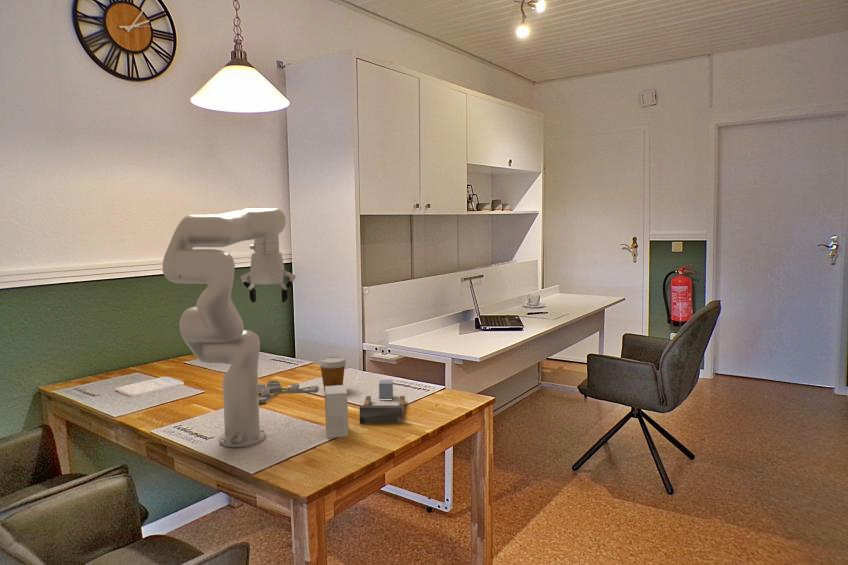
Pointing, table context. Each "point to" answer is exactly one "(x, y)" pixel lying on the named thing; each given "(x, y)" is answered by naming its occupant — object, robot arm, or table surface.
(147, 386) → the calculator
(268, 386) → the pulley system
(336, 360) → the disposable coffee cup
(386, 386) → the block
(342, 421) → the small box
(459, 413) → the table surface
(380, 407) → the guide channel
